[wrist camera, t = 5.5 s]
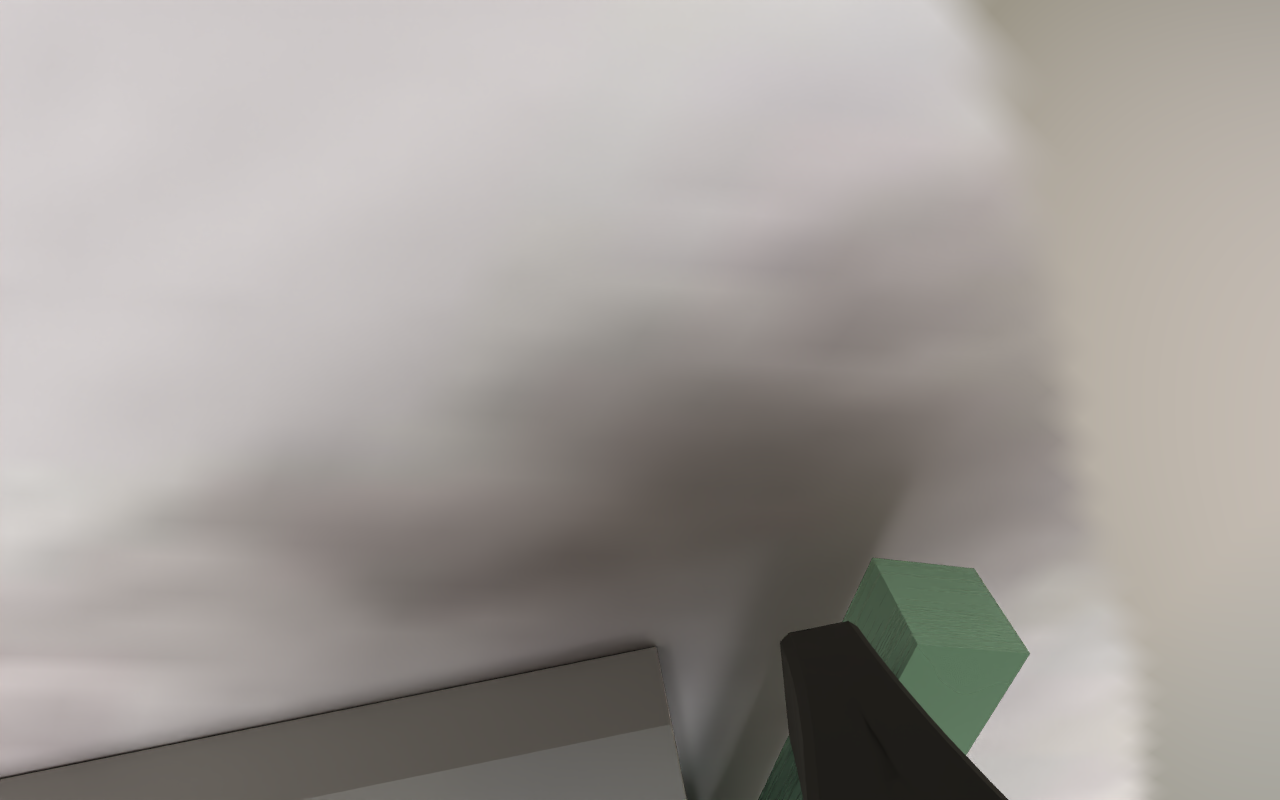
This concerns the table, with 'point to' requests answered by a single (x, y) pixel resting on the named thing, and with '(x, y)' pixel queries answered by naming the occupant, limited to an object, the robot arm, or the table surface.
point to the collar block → (421, 748)
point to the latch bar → (929, 649)
